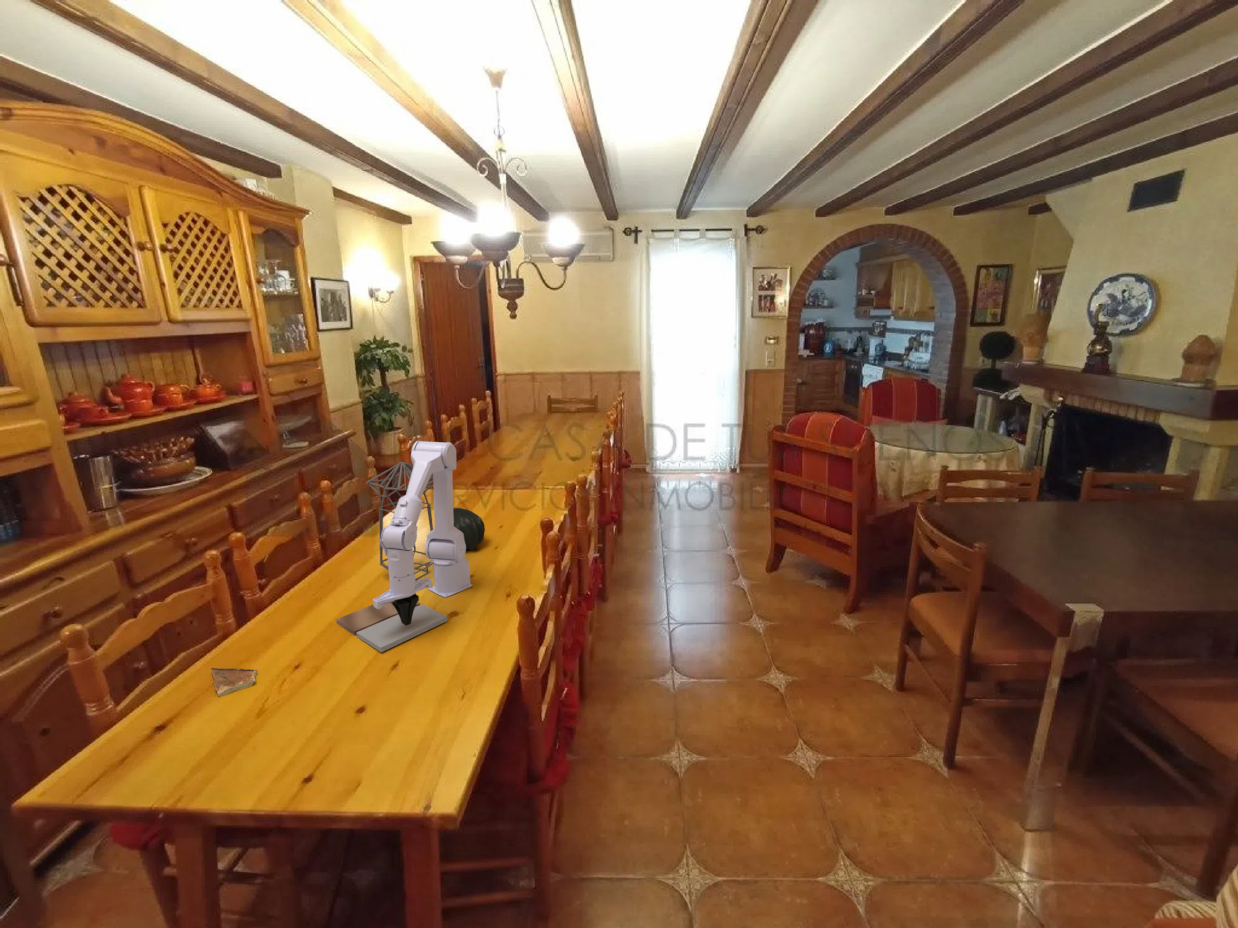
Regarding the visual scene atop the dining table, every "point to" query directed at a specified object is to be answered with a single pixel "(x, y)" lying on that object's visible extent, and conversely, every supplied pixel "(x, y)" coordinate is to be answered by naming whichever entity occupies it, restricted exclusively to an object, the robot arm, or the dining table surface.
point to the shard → (232, 679)
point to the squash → (469, 526)
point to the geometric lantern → (385, 487)
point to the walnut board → (367, 617)
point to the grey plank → (400, 628)
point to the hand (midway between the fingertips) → (406, 623)
